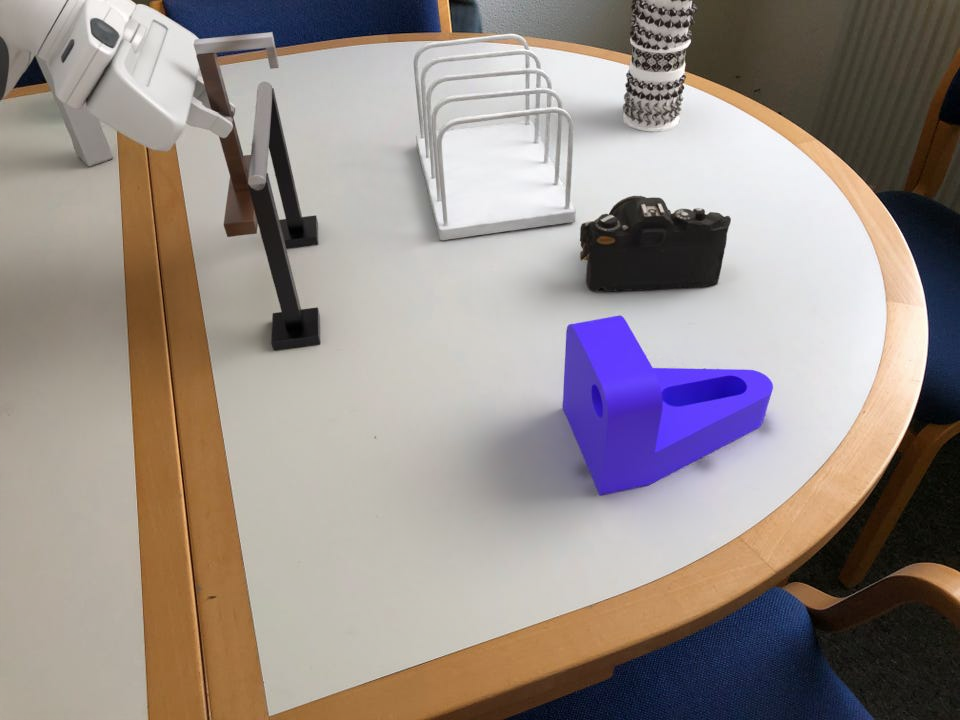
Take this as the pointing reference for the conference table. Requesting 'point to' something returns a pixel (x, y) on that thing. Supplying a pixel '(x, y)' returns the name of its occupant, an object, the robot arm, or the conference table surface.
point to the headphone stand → (238, 199)
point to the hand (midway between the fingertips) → (231, 123)
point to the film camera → (653, 246)
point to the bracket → (649, 407)
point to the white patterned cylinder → (657, 63)
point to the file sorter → (492, 155)
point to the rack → (280, 224)
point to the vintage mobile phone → (80, 127)
